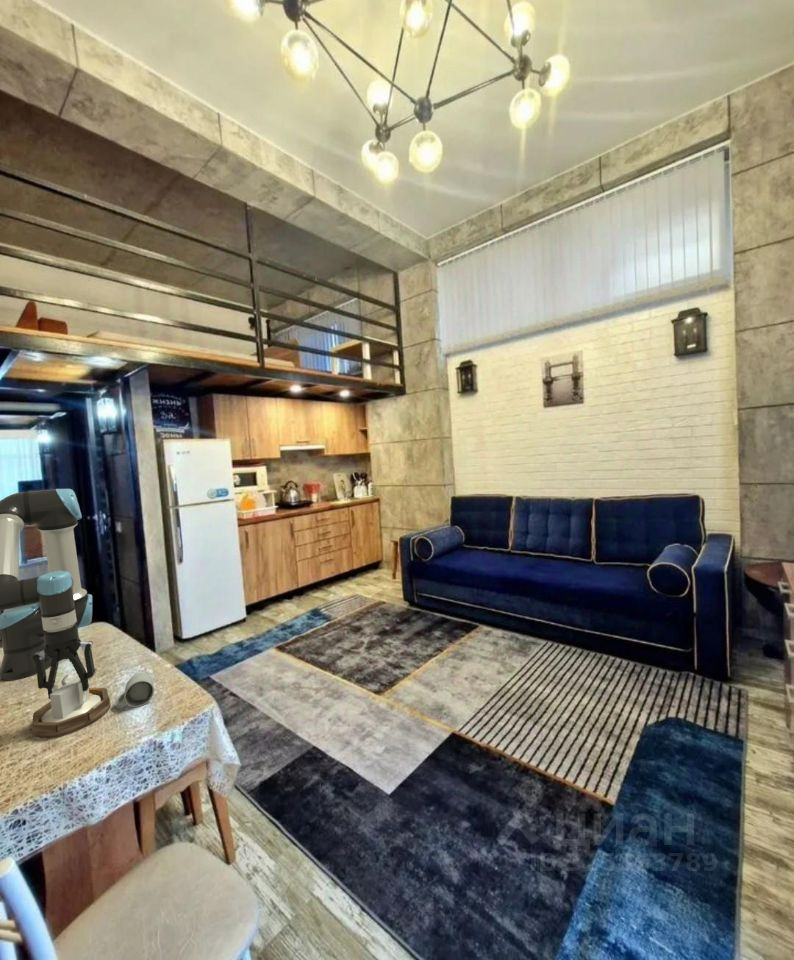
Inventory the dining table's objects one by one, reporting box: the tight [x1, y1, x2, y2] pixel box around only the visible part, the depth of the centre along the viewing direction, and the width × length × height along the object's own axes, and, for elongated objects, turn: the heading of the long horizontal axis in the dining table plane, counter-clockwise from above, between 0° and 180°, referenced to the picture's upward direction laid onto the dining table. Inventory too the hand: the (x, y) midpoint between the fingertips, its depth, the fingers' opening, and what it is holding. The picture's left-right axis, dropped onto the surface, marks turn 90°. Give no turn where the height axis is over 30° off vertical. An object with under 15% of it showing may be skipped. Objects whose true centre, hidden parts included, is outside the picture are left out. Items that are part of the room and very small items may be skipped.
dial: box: [42, 676, 101, 722], centre depth 122 cm, size 14×14×8 cm
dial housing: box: [31, 687, 112, 739], centre depth 122 cm, size 18×18×4 cm
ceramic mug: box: [112, 672, 155, 710], centre depth 128 cm, size 11×8×8 cm
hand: (70, 704), depth 122 cm, fingers closed on dial, 5 cm apart
